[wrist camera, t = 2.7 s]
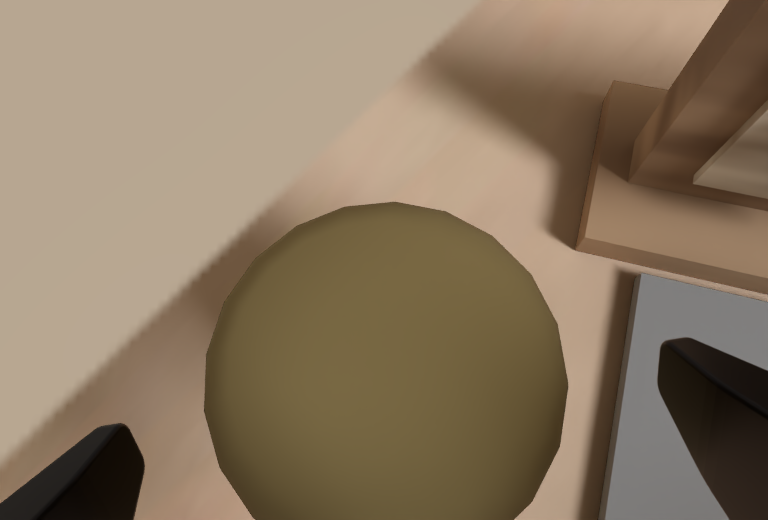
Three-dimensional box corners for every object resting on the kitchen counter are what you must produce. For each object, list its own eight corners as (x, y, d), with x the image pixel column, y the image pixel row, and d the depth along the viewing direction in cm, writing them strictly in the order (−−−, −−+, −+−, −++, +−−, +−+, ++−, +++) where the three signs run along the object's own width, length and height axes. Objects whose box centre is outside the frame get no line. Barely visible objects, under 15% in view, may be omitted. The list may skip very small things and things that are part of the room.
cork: (302, 505, 16) (69, 618, 6) (326, 309, 18) (183, 129, 8) (505, 526, 15) (657, 698, 5) (508, 321, 17) (623, 143, 7)
